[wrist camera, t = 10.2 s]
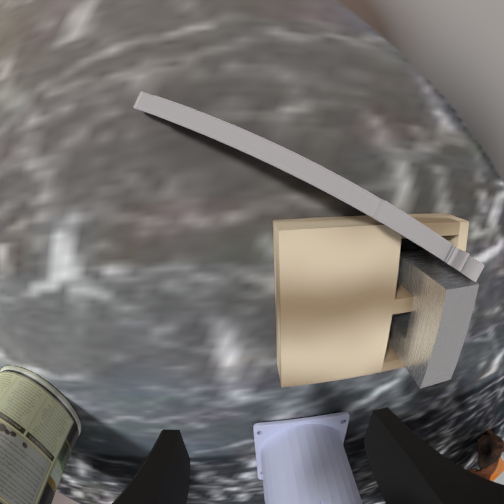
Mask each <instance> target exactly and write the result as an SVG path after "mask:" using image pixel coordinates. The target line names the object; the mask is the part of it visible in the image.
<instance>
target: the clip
mask: <svg viewBox="0 0 504 504" xmlns="http://www.w3.org/2000/svg"><path fill="white" fill-rule="evenodd" d="M397 281H398V282H399V283H400V284H401V285H402V286H403V287H405V288H406V289H407V290H408V291H409V292H410V293H411V294H412V295H413V296H414V297H413V303H412V308H411V312H410V313H404V314H398V315H392V320H391V326H390V331H389V337H388V344H389V345H390V346H391V348H392V349H393V351H394V352H395V353H396V355H397V356H398V358H399V359H400V360H401V362H402V363H403V365H404V366H405V367H406V369H407V370H408V372H409V373H410V375H411V376H412V377H413V379H414V380H415V382H416V383H417V385H418V386H419V388H420V389H421V388H424V387H427V386H431V385H434V384H437V383H441V382H444V381H447V380H450V379H451V377H452V375H453V372H454V369H455V367H456V364H457V361H458V358H459V355H460V352H461V349H462V346H463V343H464V340H465V337H466V333H467V330H468V326H469V323H470V319H471V316H472V312H473V308H474V304H475V300H476V295H477V291H478V287H479V284H478V283H476V282H474V281H473V280H471V279H469V278H468V277H467V276H465V275H464V274H462V273H461V272H459V271H457V270H456V269H454V268H453V267H451V266H450V265H448V264H447V263H445V262H443V261H442V260H440V259H439V258H437V257H435V256H434V255H432V254H430V253H429V252H427V251H425V250H415V251H402V252H400V259H399V268H398V277H397Z"/></svg>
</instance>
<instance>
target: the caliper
mask: <svg viewBox="0 0 504 504" xmlns="http://www.w3.org/2000/svg"><path fill="white" fill-rule="evenodd" d="M133 108H135V109H138V110H141V111H144V112H147V113H149V114H152V115H155V116H157V117H160V118H163V119H165V120H168V121H170V122H173V123H176V124H178V125H181V126H183V127H186V128H188V129H191V130H193V131H196V132H198V133H200V134H203V135H205V136H208V137H210V138H212V139H215V140H217V141H219V142H222V143H224V144H226V145H229V146H231V147H233V148H235V149H238V150H240V151H242V152H244V153H247V154H249V155H251V156H253V157H255V158H257V159H260V160H262V161H264V162H266V163H268V164H270V165H272V166H274V167H277V168H279V169H281V170H283V171H285V172H287V173H289V174H291V175H293V176H295V177H297V178H299V179H301V180H303V181H305V182H307V183H309V184H311V185H313V186H315V187H317V188H319V189H321V190H323V191H324V192H326V193H328V194H330V195H332V196H334V197H336V198H338V199H339V200H341V201H343V202H345V203H347V204H349V205H351V206H352V207H354V208H356V209H358V210H360V211H361V212H363V213H365V214H366V215H368V216H370V217H372V218H374V219H375V220H377V221H379V222H380V223H382V224H384V225H386V226H387V227H389V228H391V229H393V230H394V231H396V232H398V233H399V234H401V235H402V236H404V237H406V238H407V239H409V240H410V241H412V242H413V243H415V244H417V245H418V246H420V247H422V248H423V249H425V250H427V251H428V252H429V253H431V254H433V255H434V256H436V257H437V258H439V259H440V260H442V261H444V262H445V263H447V264H448V265H450V266H451V267H453V268H454V269H456V270H457V271H459V272H461V273H462V274H464V275H465V276H467V277H468V278H469V279H471V280H473V281H474V282H476V281H477V279H478V277H479V275H480V273H481V271H482V270H483V268H484V266H485V265H483V264H482V263H480V262H479V261H477V260H476V259H474V258H472V257H470V254H469V253H467V252H465V251H463V250H460V249H458V248H457V247H455V246H453V244H452V243H450V242H449V241H447V240H446V239H445V238H443V237H442V236H440V235H439V234H437V233H436V232H434V231H433V230H431V229H430V228H428V227H427V226H425V225H424V224H422V223H420V222H419V221H417V220H416V219H414V218H413V217H411V216H409V215H408V214H406V213H405V212H403V211H401V210H400V209H398V208H397V207H395V206H393V205H392V204H390V203H388V202H387V201H385V200H382V199H380V198H378V197H377V196H375V195H373V194H372V193H370V192H368V191H366V190H365V189H363V188H361V187H359V186H358V185H356V184H354V183H352V182H350V181H349V180H347V179H345V178H343V177H341V176H339V175H337V174H336V173H334V172H332V171H330V170H328V169H326V168H324V167H322V166H320V165H318V164H316V163H314V162H312V161H310V160H308V159H306V158H304V157H302V156H300V155H298V154H296V153H294V152H292V151H290V150H288V149H286V148H284V147H282V146H280V145H278V144H275V143H273V142H271V141H269V140H267V139H264V138H262V137H260V136H258V135H256V134H253V133H251V132H249V131H246V130H244V129H242V128H239V127H237V126H235V125H232V124H230V123H228V122H225V121H223V120H220V119H218V118H215V117H213V116H210V115H208V114H205V113H203V112H200V111H197V110H195V109H192V108H189V107H187V106H184V105H181V104H179V103H176V102H173V101H170V100H167V99H164V98H161V97H159V96H156V95H155V96H153V95H150V94H147V93H144V92H140V94H139V96H138V98H137V101H136V103H135V105H134V107H133Z"/></svg>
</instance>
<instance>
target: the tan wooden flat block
mask: <svg viewBox="0 0 504 504" xmlns="http://www.w3.org/2000/svg"><path fill="white" fill-rule="evenodd" d="M408 215H409V216H411V217H413V218H414V219H416V220H417V221H419V222H420V223H422V224H424V225H425V226H427V227H428V228H430V229H431V230H433V231H434V232H436V233H437V234H439V235H440V236H442V237H443V238H445V239H446V240H447V241H449V242H450V243H452V244H453V246H455V247H457V248H458V249H460V250H463V251H466V243H467V235H468V226H469V222H468V221H466V220H463V219H461V218H458V217H455V216H453V215H450V214H447V213H435V214H408ZM401 238H406V237H404V236H402V235H401V234H399V233H398V232H396V231H394V230H393V229H391V228H389V227H387V226H386V225H384V224H382V223H380V222H379V221H377V220H375V219H374V218H372V217H370V216H368V215H366V216H341V217H320V218H301V219H283V220H273V239H274V267H275V299H276V338H277V366H278V372H279V377H280V382H281V387H289V386H298V385H306V384H314V383H321V382H328V381H334V380H341V379H347V378H352V377H358V376H363V375H369V374H374V373H379V372H383V371H388V370H393V369H397V368H401V367H405V366H404V365H403V363H402V362H401V360H400V359H399V358H398V356H397V355H396V353H395V352H394V351H393V349H392V348H391V346H390V345H389V344H388V337H389V331H390V326H391V320H392V315H393V314H399V313H405V312H410V311H411V308H412V303H413V297H414V296H413V295H412V294H411V293H410V292H409V291H408V290H407V289H406V288H405V287H403V286H402V285H401V284H400V283H399V282H398V281H397V277H398V268H399V259H400V248H401ZM435 257H436V256H435ZM443 262H444V261H443Z"/></svg>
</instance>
